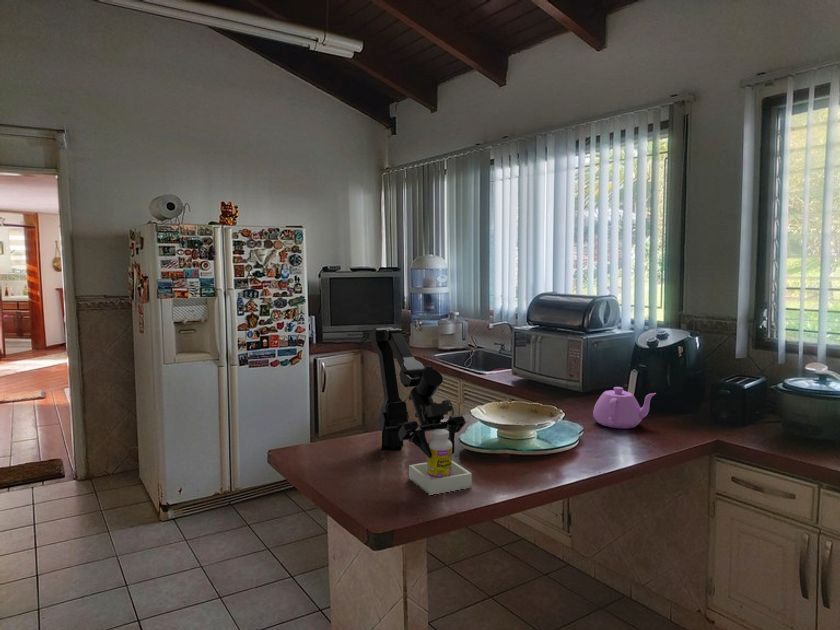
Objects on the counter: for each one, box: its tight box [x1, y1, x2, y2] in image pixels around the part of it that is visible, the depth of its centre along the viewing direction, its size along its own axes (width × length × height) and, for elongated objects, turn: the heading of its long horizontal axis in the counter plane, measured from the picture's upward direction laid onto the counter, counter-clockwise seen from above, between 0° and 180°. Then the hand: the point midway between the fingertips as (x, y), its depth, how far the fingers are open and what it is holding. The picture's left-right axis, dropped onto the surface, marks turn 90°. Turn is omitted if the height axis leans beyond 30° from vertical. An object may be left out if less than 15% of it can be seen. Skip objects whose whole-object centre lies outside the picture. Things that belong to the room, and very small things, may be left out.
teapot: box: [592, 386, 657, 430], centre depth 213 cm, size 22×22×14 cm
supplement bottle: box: [427, 429, 453, 480], centre depth 158 cm, size 7×7×13 cm
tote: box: [408, 460, 473, 496], centre depth 159 cm, size 13×13×4 cm
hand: (442, 455), depth 157 cm, fingers closed on supplement bottle, 6 cm apart
